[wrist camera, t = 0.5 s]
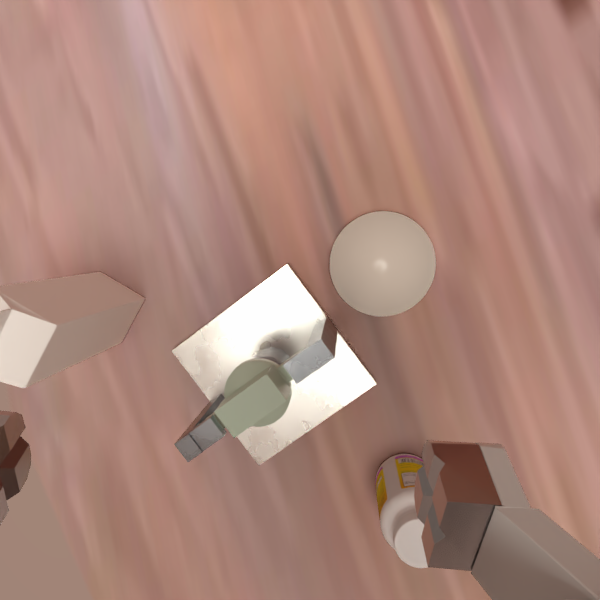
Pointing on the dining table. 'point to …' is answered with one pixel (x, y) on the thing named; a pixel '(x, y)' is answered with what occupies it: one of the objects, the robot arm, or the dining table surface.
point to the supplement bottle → (400, 508)
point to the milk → (61, 324)
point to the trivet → (382, 263)
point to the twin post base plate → (276, 347)
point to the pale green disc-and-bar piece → (254, 395)
